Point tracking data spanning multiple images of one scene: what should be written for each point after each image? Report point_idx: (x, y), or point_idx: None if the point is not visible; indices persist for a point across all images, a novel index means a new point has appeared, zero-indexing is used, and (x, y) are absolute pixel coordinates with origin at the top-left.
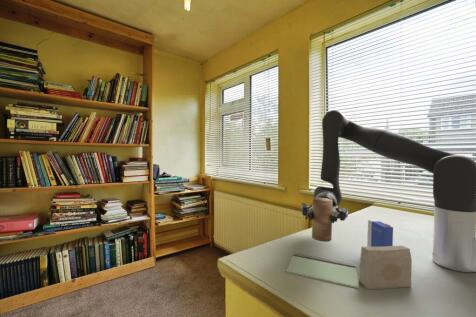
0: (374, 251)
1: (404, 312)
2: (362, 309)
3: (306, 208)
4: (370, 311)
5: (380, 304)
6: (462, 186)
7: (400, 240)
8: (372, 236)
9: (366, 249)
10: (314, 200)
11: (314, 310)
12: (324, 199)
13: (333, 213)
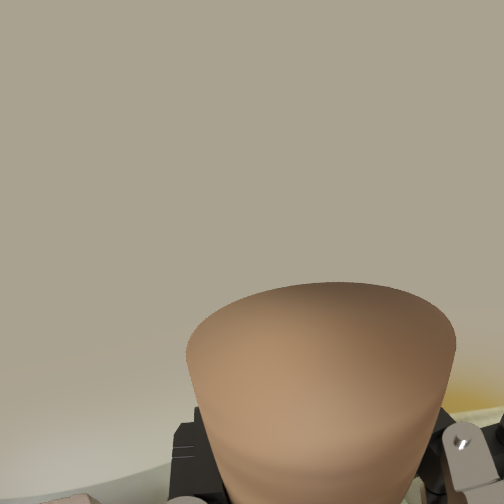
0: (62, 500)
1: (87, 486)
2: None
3: (498, 429)
4: (155, 469)
5: (127, 496)
6: None
7: None
8: None
9: (88, 496)
10: (374, 290)
11: None
12: (304, 342)
13: (204, 443)
